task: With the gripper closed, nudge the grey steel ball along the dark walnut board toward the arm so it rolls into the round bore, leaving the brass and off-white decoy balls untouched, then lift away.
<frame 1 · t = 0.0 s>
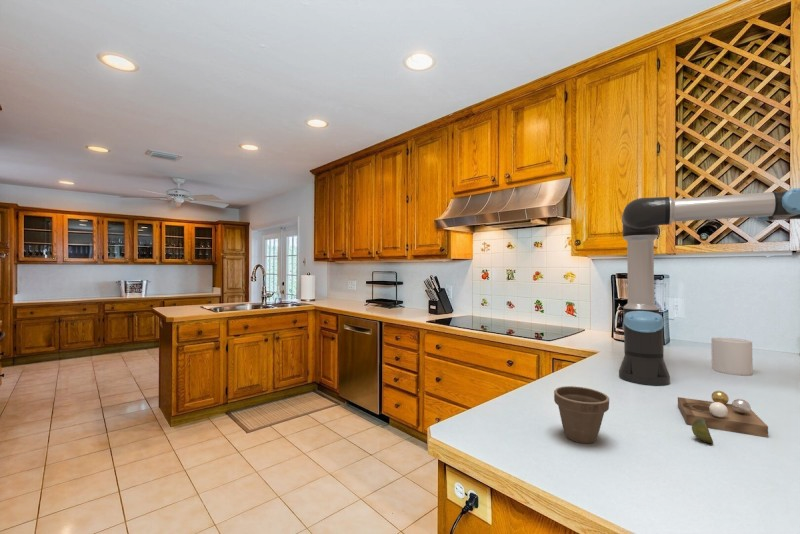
cup: (731, 372, 145), on the countertop
board: (718, 420, 97), on the countertop
white decoy: (718, 409, 93), point 4 cm above the countertop, touching board
lime: (704, 442, 85), on the countertop
flower pot: (581, 438, 87), on the countertop
steel ball: (741, 406, 95), point 4 cm above the countertop, touching board
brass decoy: (720, 397, 102), point 4 cm above the countertop, touching board
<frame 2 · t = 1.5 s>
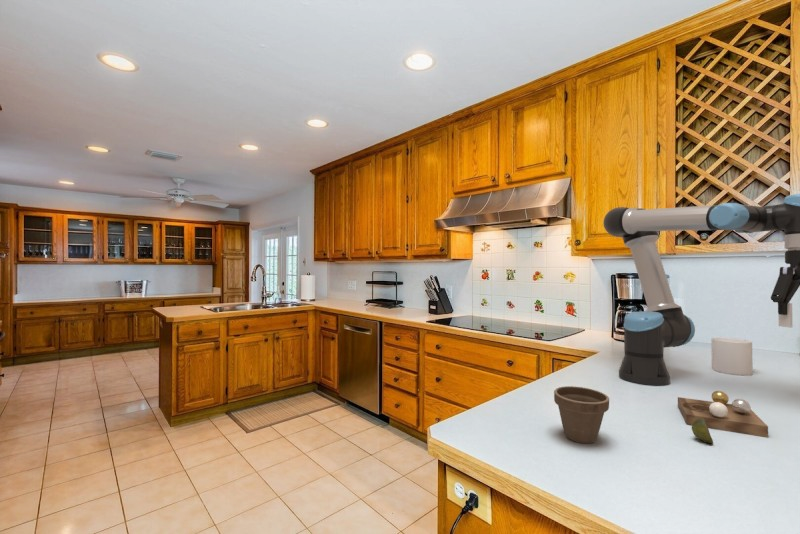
nothing on the countertop moved.
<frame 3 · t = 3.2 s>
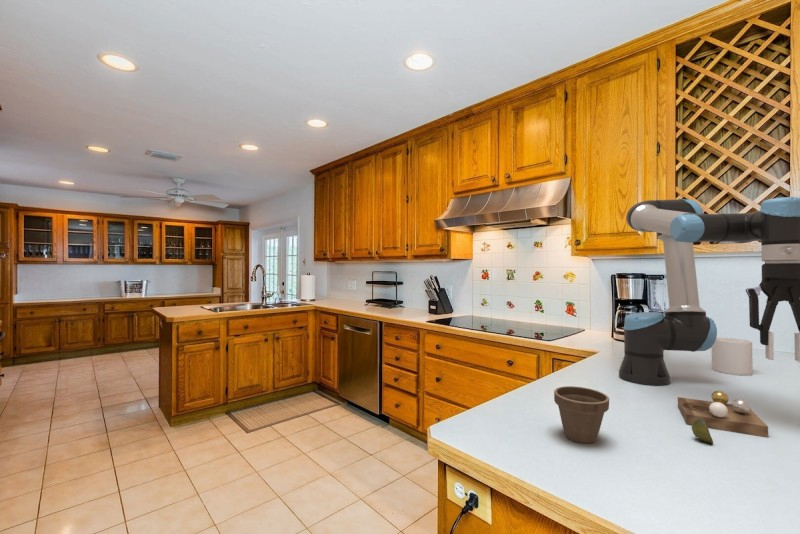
hand: (784, 359, 91), 17 cm above the countertop, fingers open, 4 cm apart
nothing on the countertop moved.
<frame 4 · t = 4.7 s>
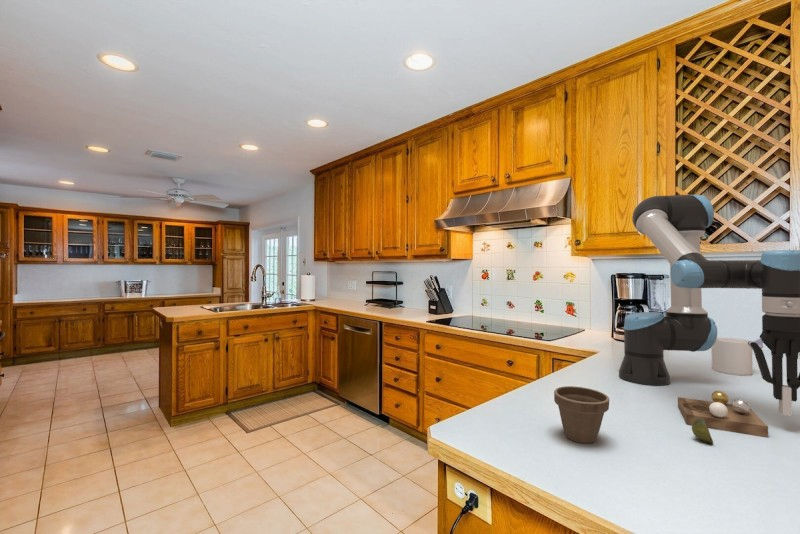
hand: (785, 413, 91), 4 cm above the countertop, fingers closed
nothing on the countertop moved.
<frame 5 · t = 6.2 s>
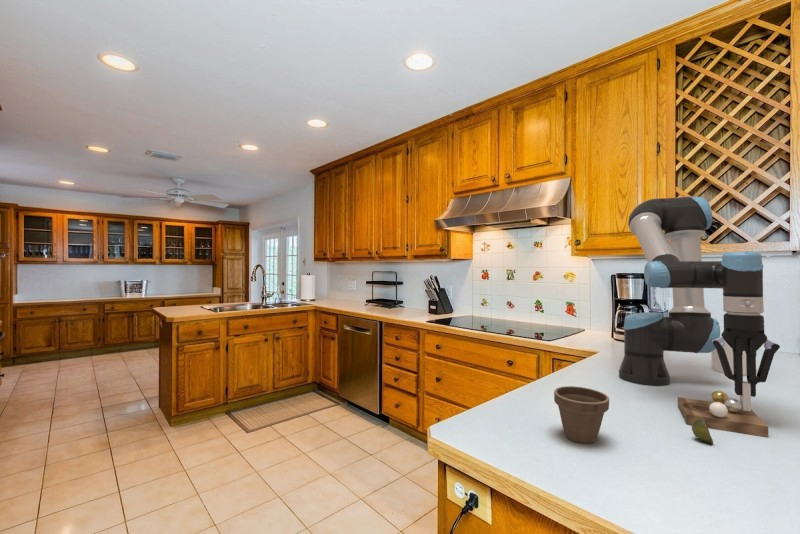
hand: (745, 408, 95), 4 cm above the countertop, fingers closed
steel ball: (733, 405, 96), point 4 cm above the countertop, tilted 51°, touching board, gripper
everything else where it was.
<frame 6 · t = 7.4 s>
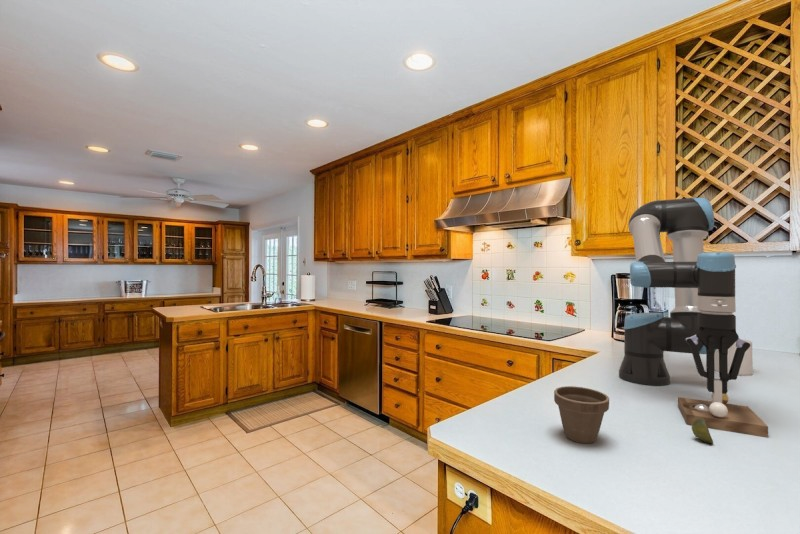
hand: (717, 405, 97), 4 cm above the countertop, fingers closed
steel ball: (702, 411, 99), point 2 cm above the countertop, tilted 79°
everything else where it was.
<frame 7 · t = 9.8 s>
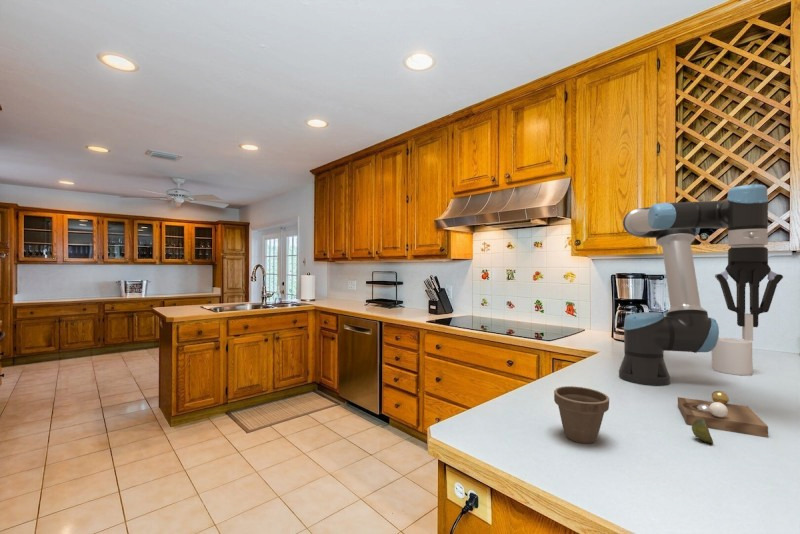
hand: (747, 339, 97), 21 cm above the countertop, fingers closed
steel ball: (704, 410, 99), point 2 cm above the countertop, tilted 97°
everything else where it was.
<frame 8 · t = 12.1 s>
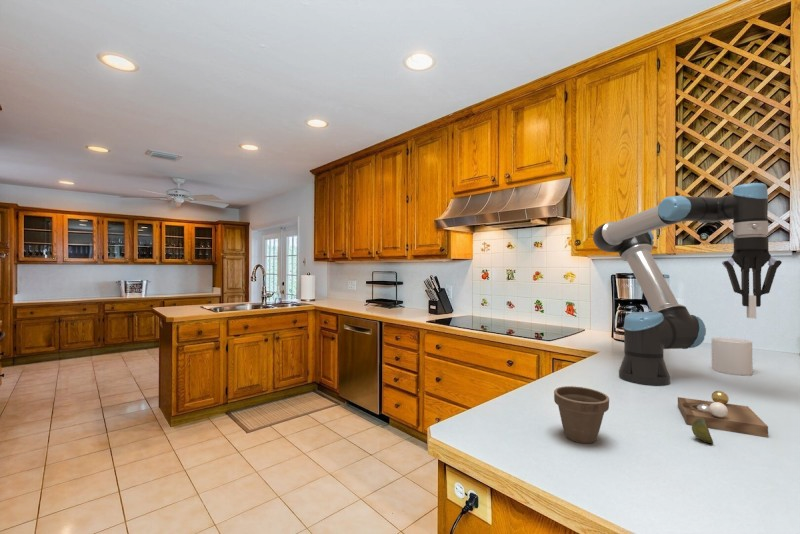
hand: (751, 317, 111), 24 cm above the countertop, fingers closed
nothing on the countertop moved.
at the end: steel ball 0.4 cm from the target spot in the board, point 1.7 cm above the board's base; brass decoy moved 0.0 cm from its start; white decoy moved 0.0 cm from its start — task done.
